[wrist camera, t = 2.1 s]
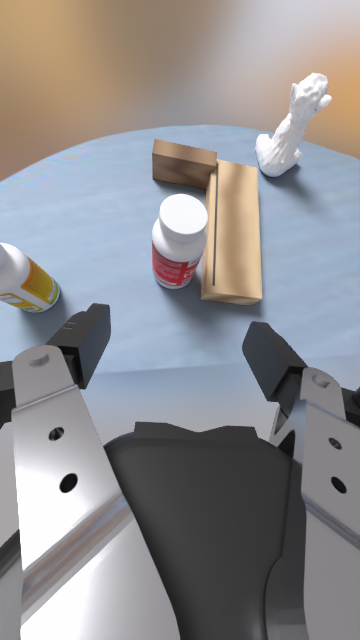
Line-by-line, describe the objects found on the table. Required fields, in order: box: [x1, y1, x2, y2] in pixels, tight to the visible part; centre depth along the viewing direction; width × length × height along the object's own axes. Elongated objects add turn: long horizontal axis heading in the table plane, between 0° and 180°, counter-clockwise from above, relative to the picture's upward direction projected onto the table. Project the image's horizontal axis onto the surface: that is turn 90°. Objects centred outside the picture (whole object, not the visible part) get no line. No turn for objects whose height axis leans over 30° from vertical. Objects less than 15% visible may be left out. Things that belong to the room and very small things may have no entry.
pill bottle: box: [152, 194, 208, 289], centre depth 23 cm, size 6×6×11 cm
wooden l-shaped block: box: [152, 139, 262, 306], centre depth 28 cm, size 18×24×4 cm
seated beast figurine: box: [255, 73, 332, 177], centre depth 31 cm, size 10×9×12 cm
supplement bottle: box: [0, 243, 60, 312], centre depth 20 cm, size 5×5×10 cm
